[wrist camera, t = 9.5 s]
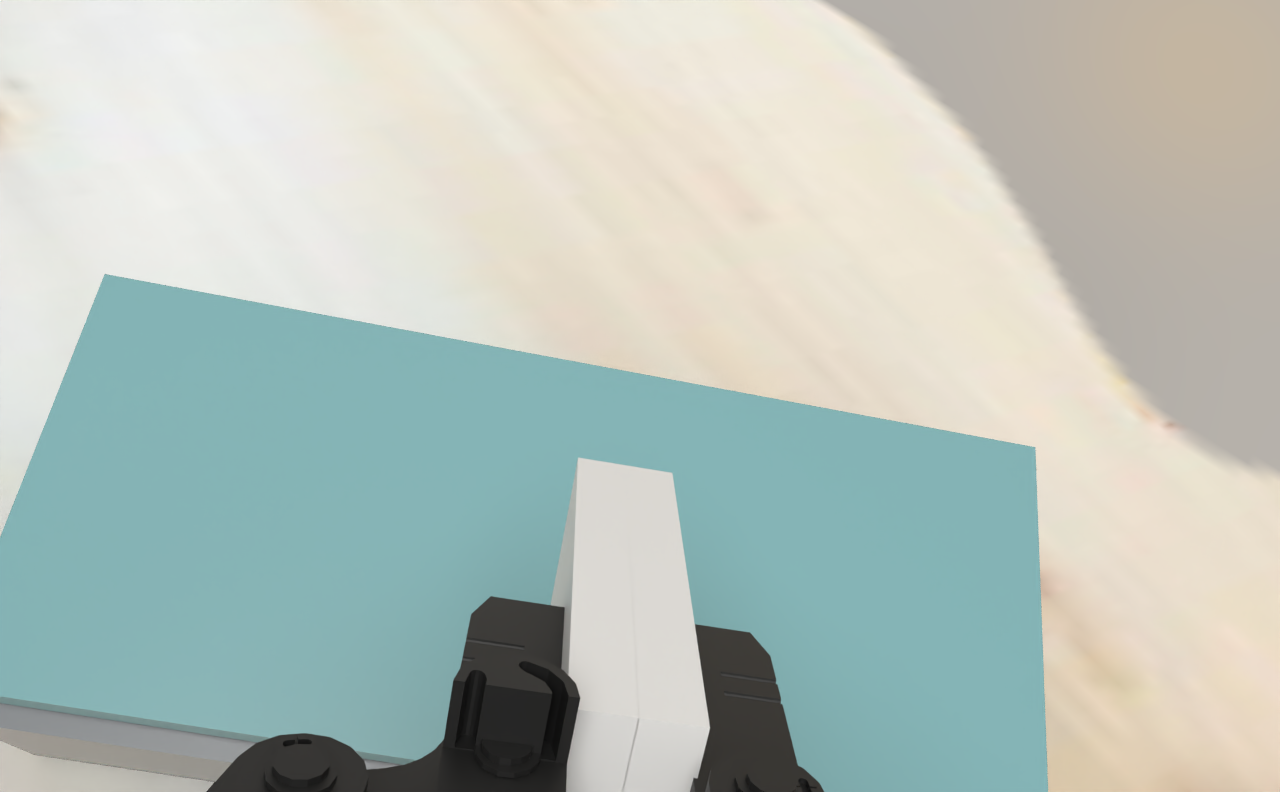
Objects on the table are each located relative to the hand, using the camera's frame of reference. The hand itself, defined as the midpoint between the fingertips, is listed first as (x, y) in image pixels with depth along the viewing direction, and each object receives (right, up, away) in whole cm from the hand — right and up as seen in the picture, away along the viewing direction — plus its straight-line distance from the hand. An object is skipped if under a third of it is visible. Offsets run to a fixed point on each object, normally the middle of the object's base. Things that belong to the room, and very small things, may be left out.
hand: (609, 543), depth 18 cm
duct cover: (-2, -2, +12) cm, 12 cm away
